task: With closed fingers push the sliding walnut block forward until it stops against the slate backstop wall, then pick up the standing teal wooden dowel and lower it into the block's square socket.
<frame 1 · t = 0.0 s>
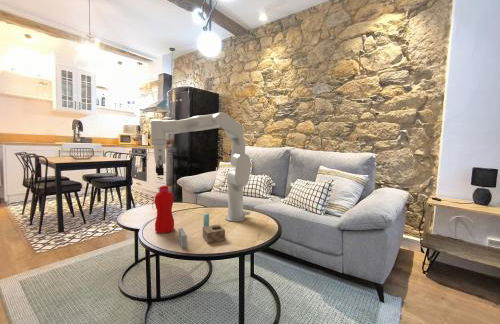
hand: (159, 174, 128), 31 cm above the table, fingers open, 9 cm apart
dowel: (206, 232, 127), on the table
water bottle: (163, 230, 129), on the table
wall: (182, 244, 112), on the table
block: (213, 233, 119), point 3 cm above the table, slide at 0.0 cm
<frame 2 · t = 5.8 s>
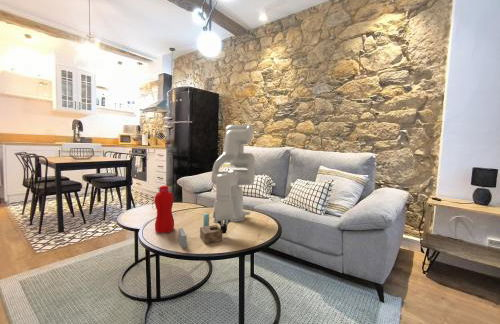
hand: (223, 232, 121), 2 cm above the table, fingers closed
block: (211, 233, 118), point 3 cm above the table, slide at 1.3 cm, touching gripper
everything else where it was.
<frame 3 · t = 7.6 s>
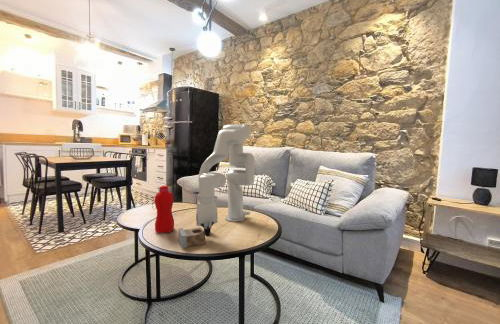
hand: (207, 235, 117), 2 cm above the table, fingers closed
block: (193, 236, 114), point 3 cm above the table, slide at 10.0 cm, touching gripper, wall
everything else where it was.
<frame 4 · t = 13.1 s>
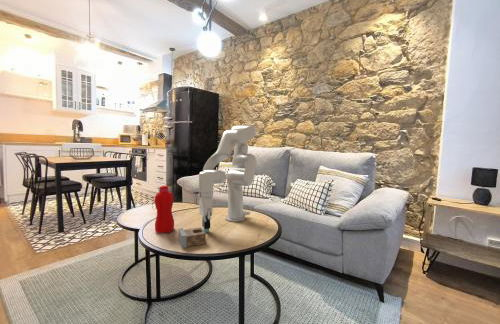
hand: (206, 227, 127), 3 cm above the table, fingers closed on dowel, 3 cm apart
dowel: (206, 232, 127), on the table, touching gripper
block: (194, 236, 114), point 3 cm above the table, slide at 9.8 cm
everything else where it was.
when the fingers open (6 cm above the table, at t = 18.2 s): dowel drops 2 cm, resting on block.
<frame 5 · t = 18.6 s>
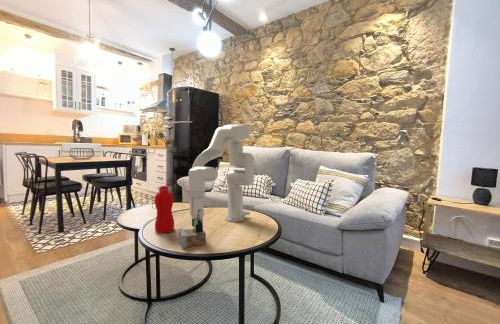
hand: (197, 228, 115), 6 cm above the table, fingers open, 7 cm apart
dowel: (197, 238, 115), point 1 cm above the table, touching block
block: (194, 236, 114), point 3 cm above the table, slide at 9.8 cm, touching dowel
everything else where it was.
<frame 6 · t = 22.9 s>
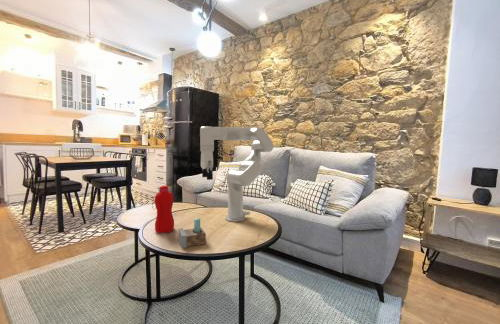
hand: (207, 178, 134), 28 cm above the table, fingers open, 9 cm apart
nothing on the table moved.
at the end: dowel 0.0 cm from the target spot on the block, point 1.2 cm above the block's base; dowel tilted 0°; block slide at 9.8 cm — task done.
